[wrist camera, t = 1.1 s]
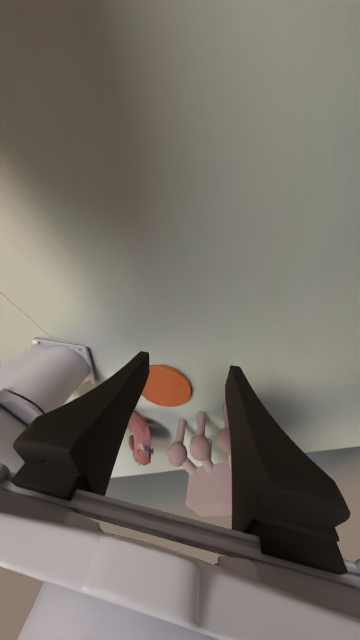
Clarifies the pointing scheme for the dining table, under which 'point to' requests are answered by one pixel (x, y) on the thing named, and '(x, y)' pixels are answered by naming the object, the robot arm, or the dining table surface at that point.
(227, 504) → the toy sheep
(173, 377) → the terracotta coaster
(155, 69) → the dining table surface
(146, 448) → the video game controller
